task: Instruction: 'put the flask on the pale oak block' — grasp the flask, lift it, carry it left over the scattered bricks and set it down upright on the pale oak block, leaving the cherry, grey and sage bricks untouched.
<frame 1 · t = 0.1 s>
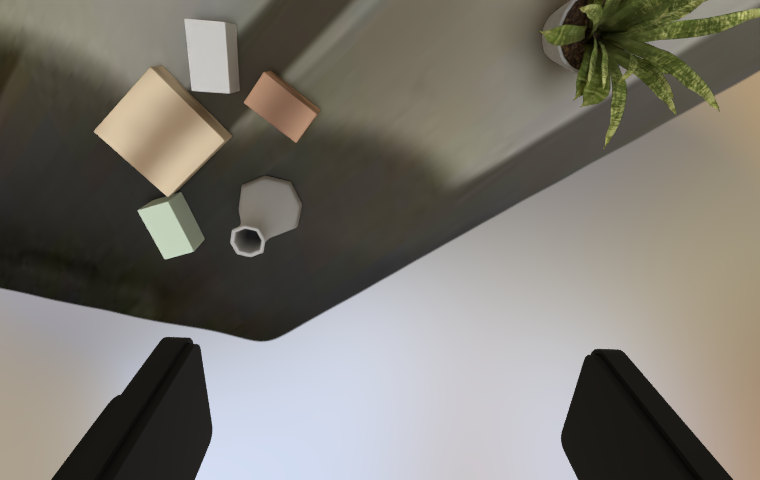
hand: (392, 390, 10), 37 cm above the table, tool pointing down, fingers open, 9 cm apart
house plant: (567, 49, 41), on the table
grey brick: (220, 57, 41), on the table
oak block: (172, 131, 44), on the table
cherry brick: (287, 104, 43), on the table
sage brick: (179, 219, 48), on the table
flask: (271, 205, 48), on the table
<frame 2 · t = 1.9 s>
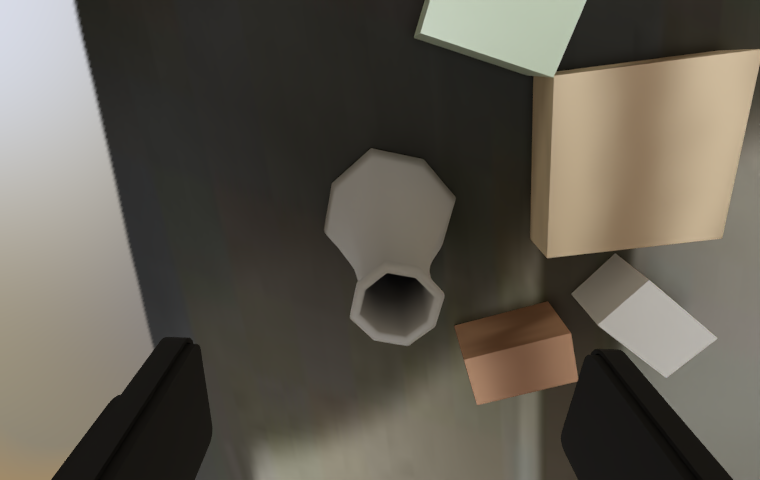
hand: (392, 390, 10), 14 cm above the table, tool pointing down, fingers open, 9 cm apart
grey brick: (623, 298, 26), on the table
oak block: (611, 151, 23), on the table
cherry brick: (504, 334, 27), on the table
sage brick: (484, 18, 20), on the table
flask: (388, 211, 24), on the table
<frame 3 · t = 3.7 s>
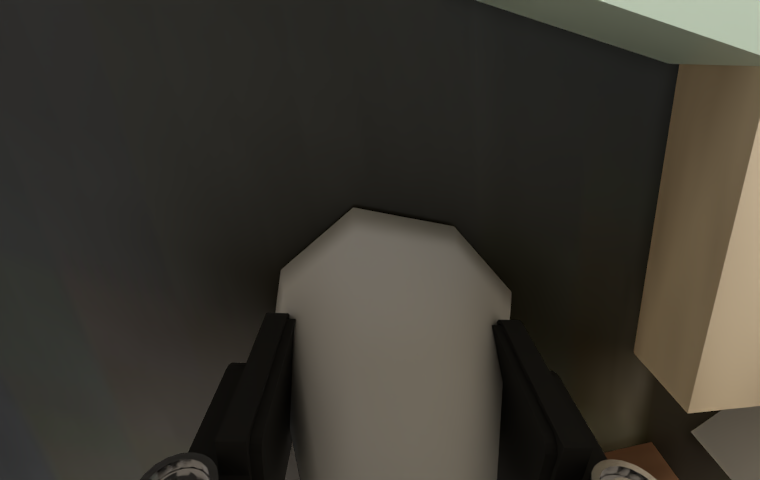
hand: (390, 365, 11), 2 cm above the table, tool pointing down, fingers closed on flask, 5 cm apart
flask: (387, 312, 13), on the table, touching gripper
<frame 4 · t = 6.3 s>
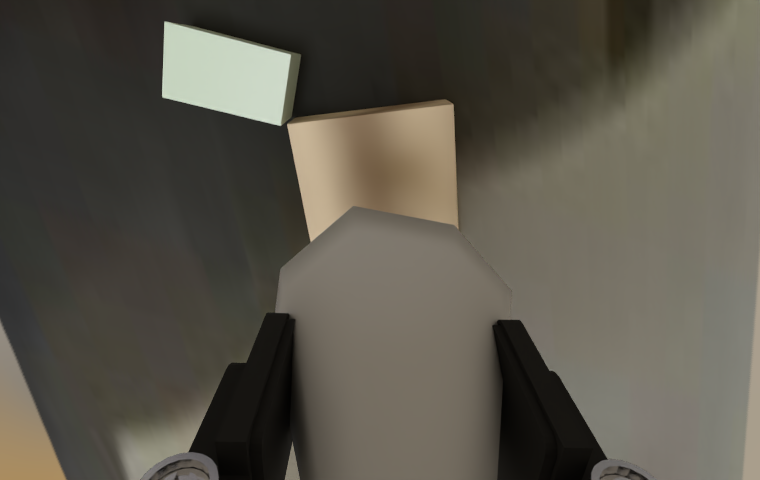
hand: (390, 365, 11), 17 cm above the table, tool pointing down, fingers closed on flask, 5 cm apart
oak block: (378, 179, 27), on the table
sage brick: (244, 73, 24), on the table
flask: (387, 311, 13), point 15 cm above the table, touching gripper
when the fingers open (6 cm above the table, at t = 9.0 s): flask drops 1 cm, resting on oak block.
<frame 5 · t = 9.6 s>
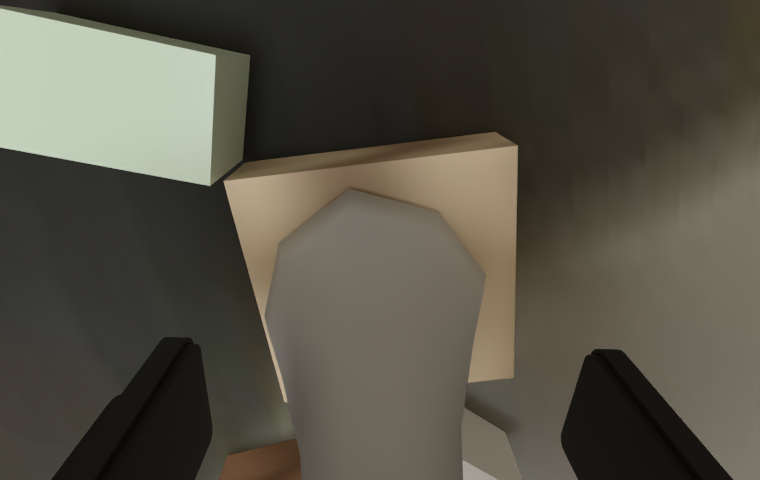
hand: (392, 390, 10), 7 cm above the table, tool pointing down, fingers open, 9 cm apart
grey brick: (436, 424, 21), on the table
oak block: (383, 253, 17), on the table, touching flask
cherry brick: (296, 462, 22), on the table
sage brick: (158, 91, 14), on the table
flask: (373, 288, 15), point 2 cm above the table, touching oak block
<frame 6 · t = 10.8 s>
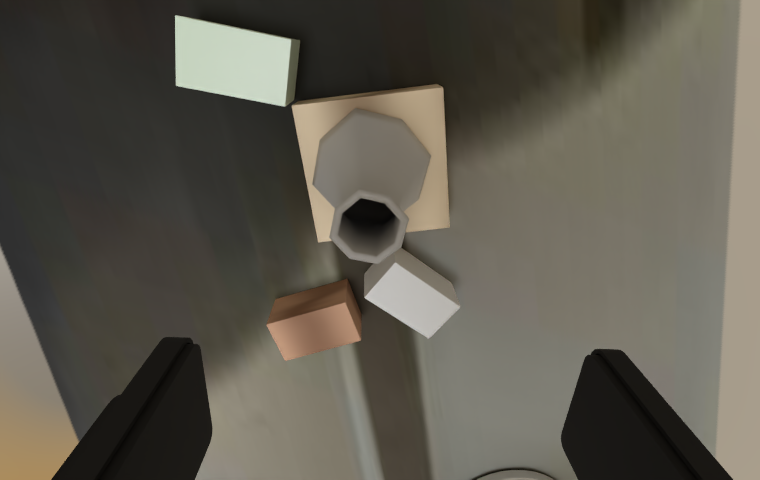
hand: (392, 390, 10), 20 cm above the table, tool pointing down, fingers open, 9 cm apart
grey brick: (408, 277, 33), on the table
oak block: (375, 159, 29), on the table
cherry brick: (319, 305, 34), on the table
sage brick: (249, 61, 26), on the table
flask: (371, 168, 26), point 2 cm above the table
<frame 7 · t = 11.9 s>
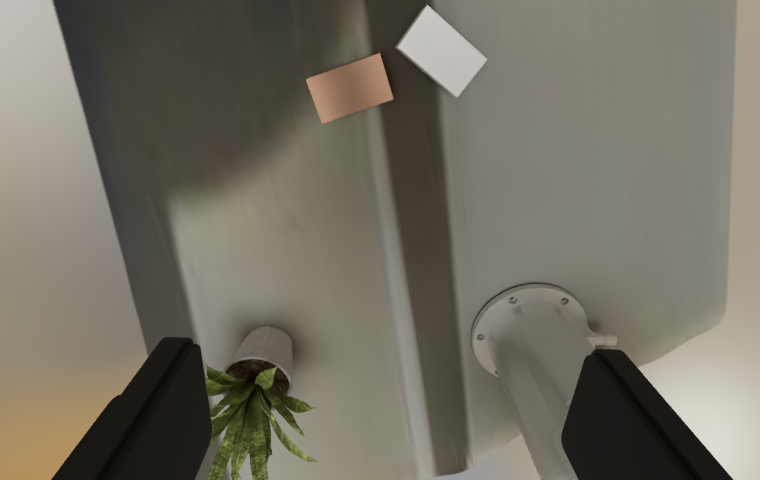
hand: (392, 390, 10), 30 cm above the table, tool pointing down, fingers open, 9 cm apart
house plant: (257, 341, 46), on the table
grey brick: (435, 53, 35), on the table
cherry brick: (351, 86, 36), on the table
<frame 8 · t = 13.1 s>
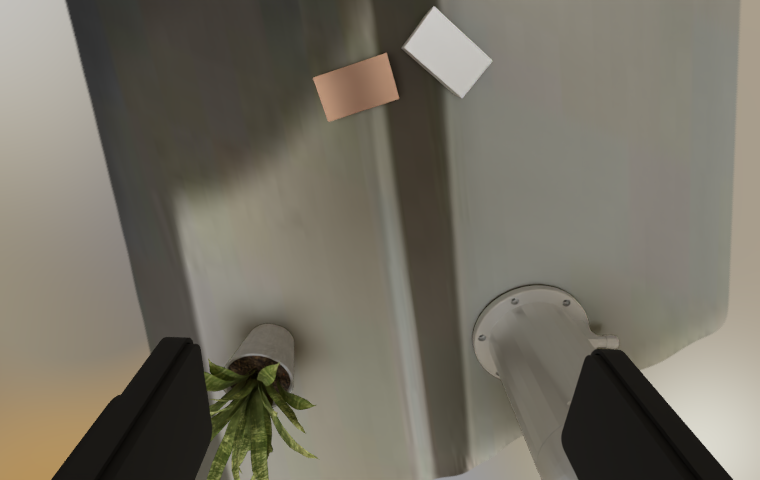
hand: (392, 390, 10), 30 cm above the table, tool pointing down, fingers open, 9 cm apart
house plant: (259, 338, 46), on the table
grey brick: (441, 54, 35), on the table
cherry brick: (357, 85, 36), on the table
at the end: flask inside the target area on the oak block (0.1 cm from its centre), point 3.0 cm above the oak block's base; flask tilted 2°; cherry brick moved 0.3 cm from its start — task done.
